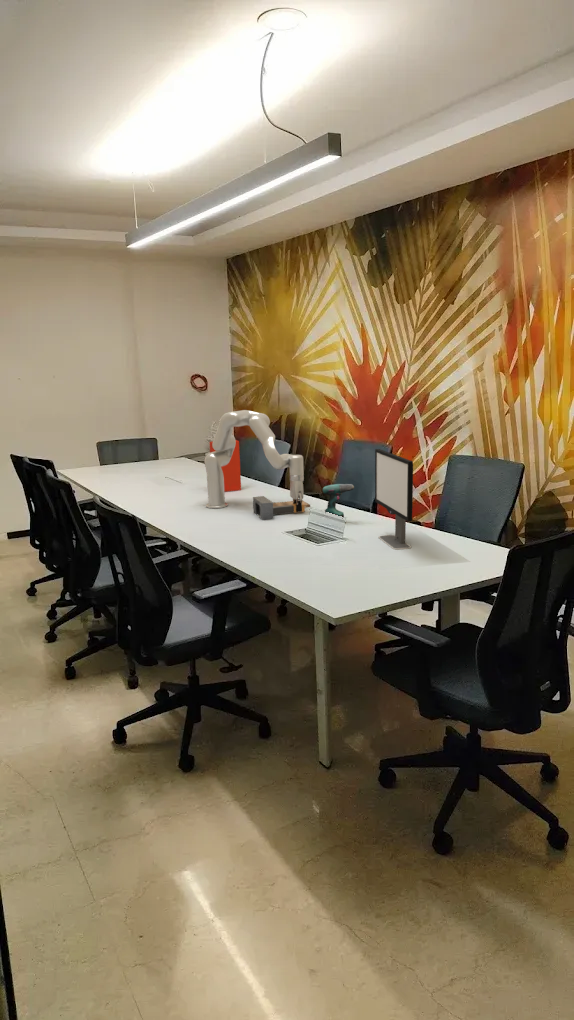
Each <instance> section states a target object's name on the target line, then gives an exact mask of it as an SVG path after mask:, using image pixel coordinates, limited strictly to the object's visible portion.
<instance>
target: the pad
mask: <svg viewBox="0 0 574 1020" xmlns="http://www.w3.org/2000/svg"><path fill="white" fill-rule="evenodd" d="M298 501H299V500H298ZM302 503H303V504H305V507H306V508H311V504H309V503H308V502H306V501H304V500H303V499H302ZM292 504H293V500H291V501H289V500H287V501H281V502H280V501H279V502H277V501H276V502H273V507H275V506H285V505H292Z"/></svg>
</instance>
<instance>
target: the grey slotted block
mask: <svg viewBox="0 0 574 1020" xmlns="http://www.w3.org/2000/svg"><path fill="white" fill-rule="evenodd" d="M273 503H274V502H273V501H272V500H270V499H269V498H267V497H266V496H264V495H260V496H253V497H252V504H253V507H252V509H253V514H254V515H255V514H256V516H257V514H258V515H259V519H260V520H262V521H266V520H267V521H269V520H274V515H273Z"/></svg>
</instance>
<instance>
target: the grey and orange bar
mask: <svg viewBox="0 0 574 1020" xmlns="http://www.w3.org/2000/svg"><path fill="white" fill-rule="evenodd" d="M296 505H297V503H296V504H292V505H285V506H275V507H273V516H274V515H282V514H283V515H285V514H290V513H291V514H292V513H297V512H296ZM306 509H307V507H305V504H303V503H302V512H301V513H304V512H305V510H306Z"/></svg>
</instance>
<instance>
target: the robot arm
mask: <svg viewBox="0 0 574 1020" xmlns="http://www.w3.org/2000/svg"><path fill="white" fill-rule="evenodd" d="M270 424H271V419H270V418H269V416H268V415H267V414H266V413H261V412H257V411H252V410H247V409H242V410H236V411H235V410H234V411H229V412H225V413H224V414H222V416H221V417H220V419H219V422H218V426H217V429H216V432H215V434H214V437H213V440H212V442H213V444H212V446H213V449H214V450H216V451H215V452H211V453H210V452H209V453H207V455H205V457H204V467H205V471H206V481H207V483H206V484H207V499H208V500H207V501H208V503H206V504H205V506H206V508H209V509H221V508H226V507H228V506H229V505H228V502H226V497H225V496H226V495H225V493H226V492H224V476H223V471H222V468H221V467H223V466H225V465H227V464H228V463H229V461H230V459H231V456H232V454H233V451H234V448H235V445H236V440H237V439H236V438H235V435H233V431H234V428H236V427H244V426H248V427H250V429H251V431H252V432H253V433H254V435H255V436H256V437H257V439H258V441H259V442H260V443H261V445H262V450H263V453H264V455H265V457H266V459H267V461H268V462H269V464H270V465H271V466H272V468H273V469H275V470H279V471H280V470H283V469H286V468H289V482H290V484H289V497H290V498H291V499H292V501H293V504H296V503H297V505H296V513H303V512H302V500H303V499H304V484H303V483H304V481H305V480H304V479H305V477H304V475H305V474H304V456H303V455H302V454H291V453H290V454H289V453H282V454H280V453H279V452H278V450H277V448H276V446H275V440H276V435H275V434H274V432H273V430H272V429H271V428H270ZM298 500H299V501H298Z"/></svg>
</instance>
